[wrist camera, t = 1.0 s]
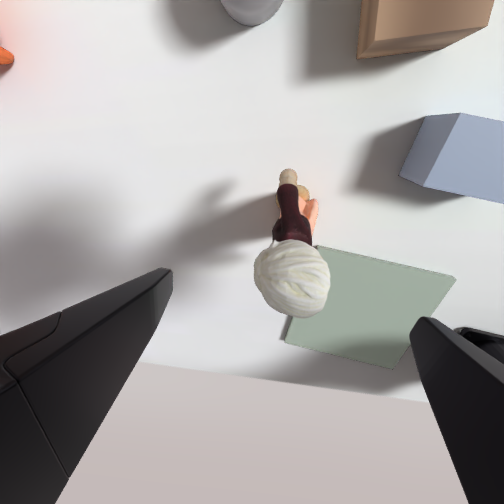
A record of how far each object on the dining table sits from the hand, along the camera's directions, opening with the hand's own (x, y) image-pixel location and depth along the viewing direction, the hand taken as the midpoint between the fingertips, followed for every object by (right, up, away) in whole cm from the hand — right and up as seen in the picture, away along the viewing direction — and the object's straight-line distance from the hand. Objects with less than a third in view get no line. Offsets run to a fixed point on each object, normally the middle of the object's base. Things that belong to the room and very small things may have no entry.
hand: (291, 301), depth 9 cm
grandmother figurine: (+2, +6, +12) cm, 13 cm away
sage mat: (+9, -4, +16) cm, 19 cm away
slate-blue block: (+13, +9, +9) cm, 18 cm away
